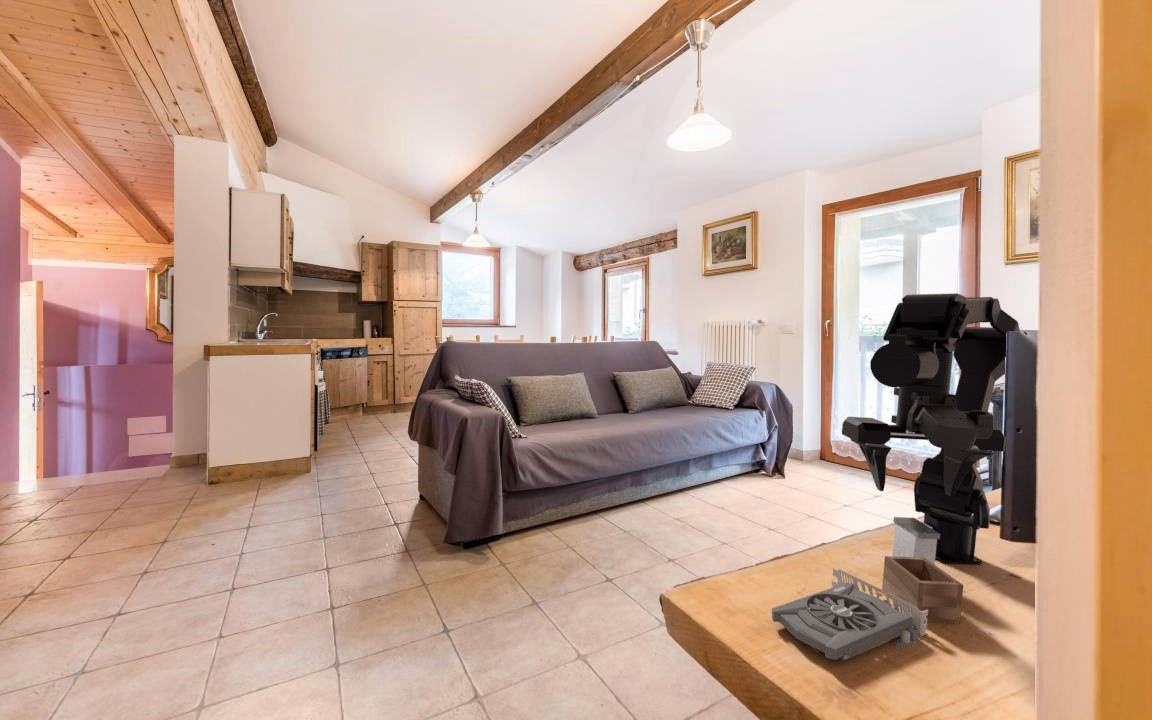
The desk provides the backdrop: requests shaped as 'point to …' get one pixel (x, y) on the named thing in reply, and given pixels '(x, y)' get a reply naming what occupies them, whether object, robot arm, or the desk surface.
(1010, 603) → the desk surface
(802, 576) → the desk surface
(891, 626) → the graphics card
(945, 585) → the open wooden box
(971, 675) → the desk surface
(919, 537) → the grey-ended wooden post
